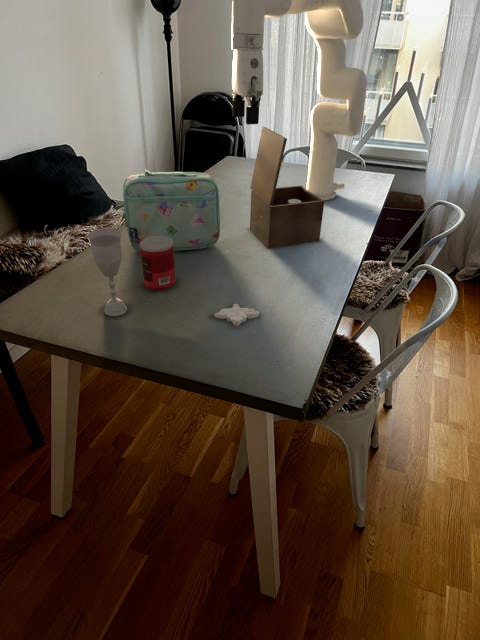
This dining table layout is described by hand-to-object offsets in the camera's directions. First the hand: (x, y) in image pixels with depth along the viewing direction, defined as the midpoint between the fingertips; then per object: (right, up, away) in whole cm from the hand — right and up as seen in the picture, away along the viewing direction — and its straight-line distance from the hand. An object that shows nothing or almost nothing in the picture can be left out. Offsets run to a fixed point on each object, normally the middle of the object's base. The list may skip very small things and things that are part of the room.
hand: (245, 120), depth 119 cm
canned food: (-21, -42, -4) cm, 47 cm away
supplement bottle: (+15, -24, +23) cm, 37 cm away
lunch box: (-21, -30, +14) cm, 39 cm away
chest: (+12, -25, +23) cm, 36 cm away
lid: (+7, -9, +9) cm, 14 cm away
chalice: (-29, -49, -14) cm, 59 cm away
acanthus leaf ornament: (-2, -50, -15) cm, 53 cm away
